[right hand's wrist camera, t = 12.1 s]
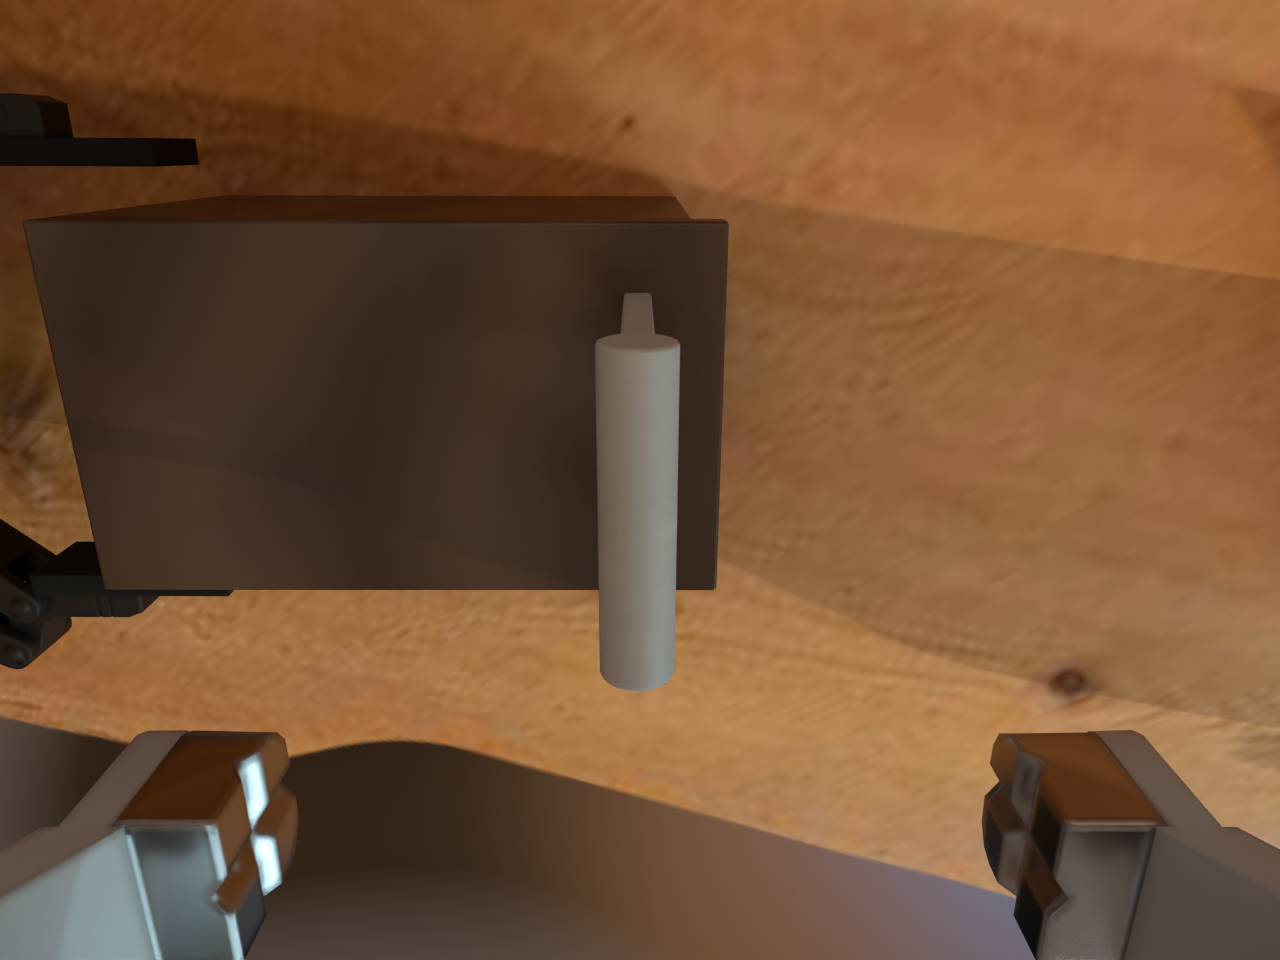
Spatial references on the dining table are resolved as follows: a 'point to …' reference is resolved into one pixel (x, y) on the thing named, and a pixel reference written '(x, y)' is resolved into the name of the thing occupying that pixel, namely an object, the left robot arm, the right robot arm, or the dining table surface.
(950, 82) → the dining table surface
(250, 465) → the lid
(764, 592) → the dining table surface
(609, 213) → the chest
